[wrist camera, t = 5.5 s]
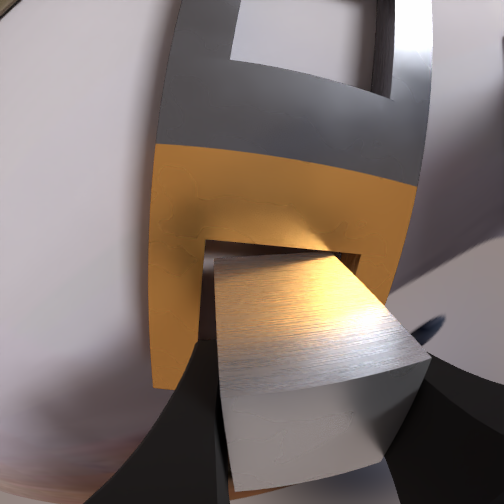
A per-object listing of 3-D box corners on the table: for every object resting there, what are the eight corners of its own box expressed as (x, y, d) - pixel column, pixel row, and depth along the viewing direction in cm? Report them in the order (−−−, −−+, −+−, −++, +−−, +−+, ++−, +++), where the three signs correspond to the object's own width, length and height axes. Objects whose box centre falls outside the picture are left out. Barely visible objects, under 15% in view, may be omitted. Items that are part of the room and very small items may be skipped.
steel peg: (329, 250, 10) (431, 358, 5) (320, 342, 12) (380, 461, 6) (213, 258, 10) (220, 397, 4) (221, 353, 11) (235, 491, 6)
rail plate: (410, -10, 8) (429, -19, 6) (340, 368, 14) (350, 388, 13) (209, -65, 6) (210, -85, 5) (157, 365, 13) (153, 387, 11)
